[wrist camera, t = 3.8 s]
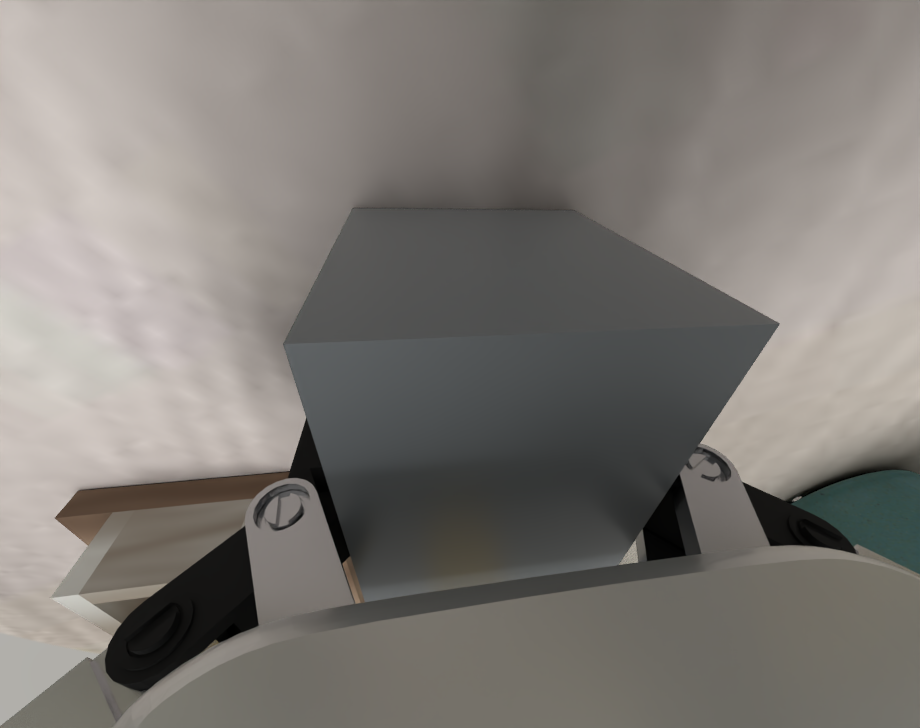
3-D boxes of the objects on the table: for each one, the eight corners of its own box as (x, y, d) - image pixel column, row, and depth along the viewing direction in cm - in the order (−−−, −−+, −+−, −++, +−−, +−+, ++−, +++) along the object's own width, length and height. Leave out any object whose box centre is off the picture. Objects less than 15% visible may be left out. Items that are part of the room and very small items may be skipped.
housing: (352, 208, 9) (283, 344, 4) (574, 210, 10) (779, 323, 5) (385, 447, 15) (376, 639, 10) (525, 436, 16) (590, 606, 11)
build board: (78, 490, 14) (-22, 607, 11) (327, 468, 16) (306, 565, 12) (210, 616, 22) (176, 704, 19) (366, 594, 24) (360, 673, 20)
